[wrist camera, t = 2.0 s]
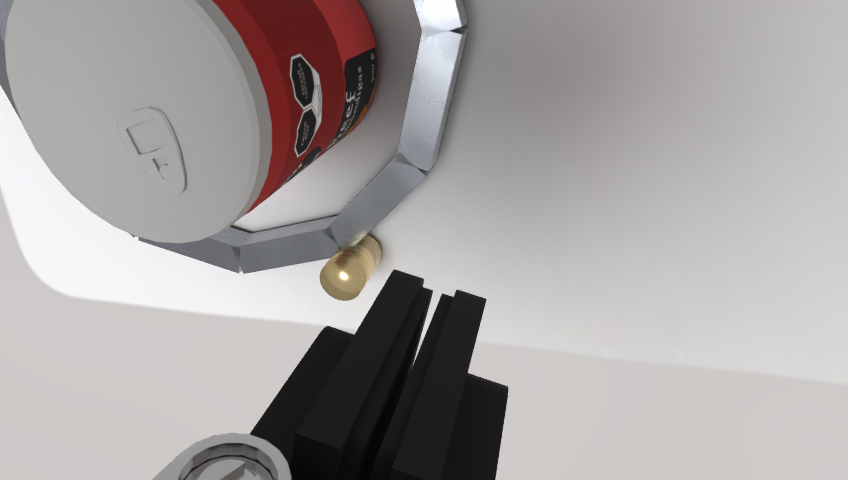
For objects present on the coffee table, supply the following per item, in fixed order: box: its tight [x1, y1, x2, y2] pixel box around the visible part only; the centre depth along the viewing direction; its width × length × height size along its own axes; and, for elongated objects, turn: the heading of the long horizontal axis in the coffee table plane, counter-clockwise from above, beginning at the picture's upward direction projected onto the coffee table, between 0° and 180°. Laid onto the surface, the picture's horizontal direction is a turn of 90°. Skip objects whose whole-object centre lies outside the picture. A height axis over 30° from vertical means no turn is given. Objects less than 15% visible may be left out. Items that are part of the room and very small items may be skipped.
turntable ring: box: [0, 0, 468, 301], centre depth 24 cm, size 22×22×3 cm
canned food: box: [5, 0, 378, 243], centre depth 20 cm, size 8×8×11 cm
